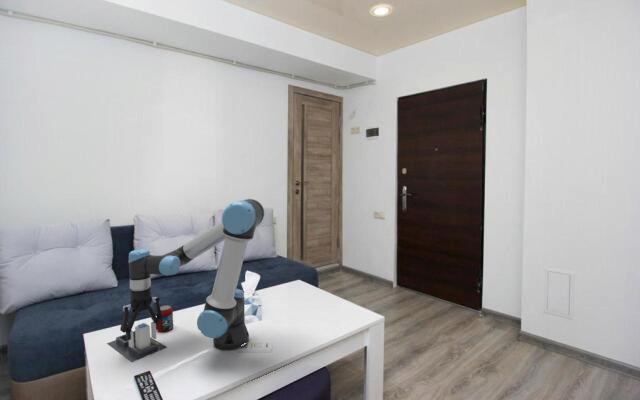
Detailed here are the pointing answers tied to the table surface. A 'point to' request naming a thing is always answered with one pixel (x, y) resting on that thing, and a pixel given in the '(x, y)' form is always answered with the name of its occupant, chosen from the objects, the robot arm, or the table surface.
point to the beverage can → (165, 319)
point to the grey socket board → (132, 353)
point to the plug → (142, 336)
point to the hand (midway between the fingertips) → (142, 342)
